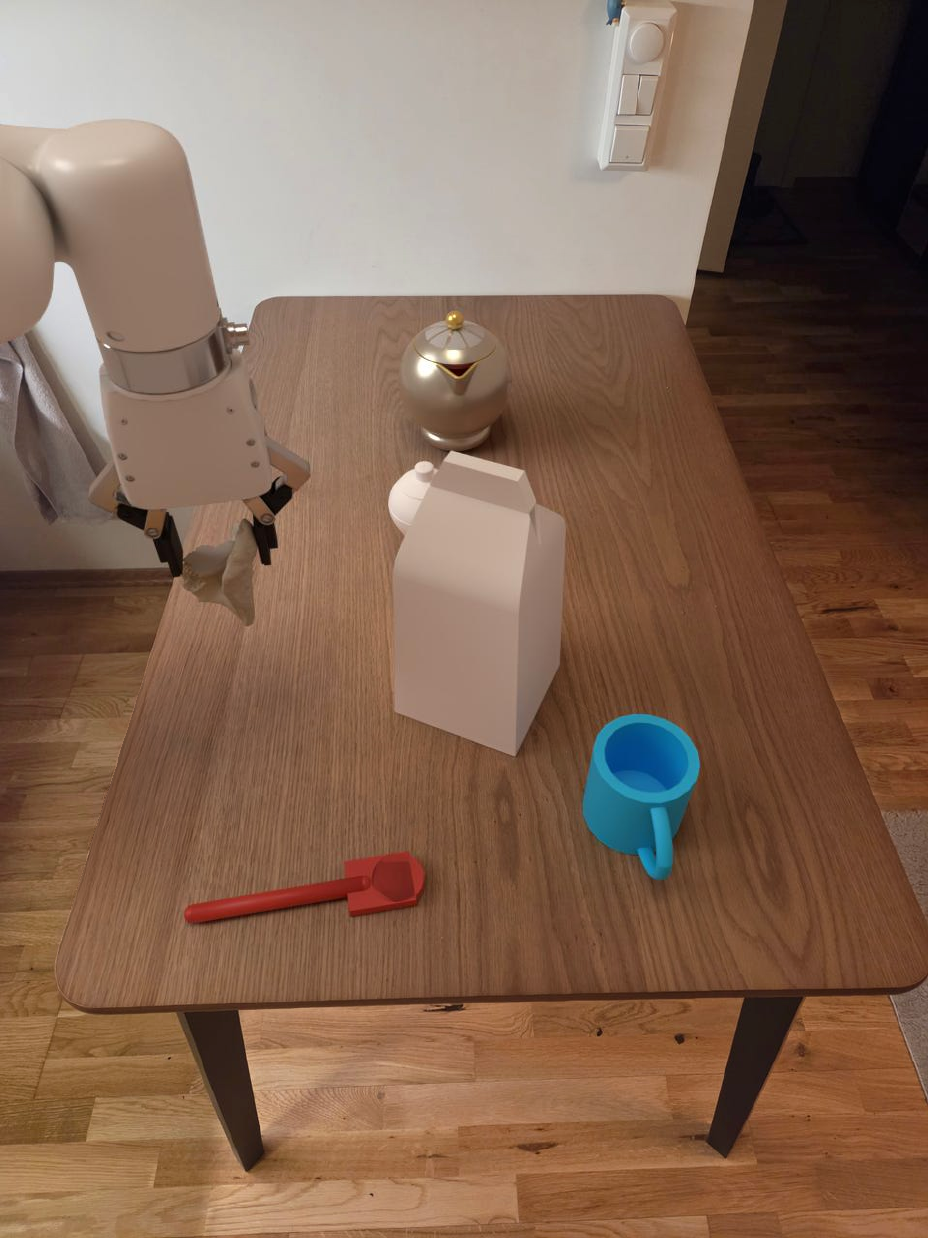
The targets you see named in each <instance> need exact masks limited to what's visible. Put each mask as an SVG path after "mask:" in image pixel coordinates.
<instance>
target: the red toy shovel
mask: <svg viewBox="0 0 928 1238" xmlns="http://www.w3.org/2000/svg"><path fill="white" fill-rule="evenodd" d="M344 873H345V874H344V875H345V878H340V879H333V880H329V881H322V882H316V883H311V884H305V885H298V886H291V887H286V888H285V887H284V888H280V889H274V890H268V891H262V892H261V891H260V892H257V893H250V894H243V895H237V896H232V897H225V898H220V899H214V900H208V901H203V902H197V903H191V904H189V905H187V907H185V909H184V912H183V917H184V918H183V919H184V920H185V921H186V922H187V923H190V924H198V923H202V922H203V923H204V922H208V921H209V922H210V921H215V920H220V919H226V918H231V917H237V916H245V915H251V914H255V913H256V914H257V913H262V912H268V911H275V910H279V909H287V908H291V907H296V906H303V905H309V904H314V903H320V902H321V903H322V902H326V901H332V900H336V899H344V898H347V904H348V913H349V917H351V918H352V917H356V916H362V915H363V916H364V915H368V914H374V913H379V912H386V911H392V910H398V909H404V908H409V907H415V906H418V903H417V902H418V900H419V899H420V897H421V896H422V894H423V892H424V889H425V884H426V880H425V879H426V878H425V870H424V868H423V865H422V864H421V862H420V861H419V860H418V859H417V858H415V857H414V856H412V855H411V853H410V850H405V851H400V852H393V853H388V854H381V855H376V856H370V857H369V856H368V857H364V858H357V859H351V860H346V861H344Z"/></svg>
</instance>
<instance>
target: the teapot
mask: <svg viewBox="0 0 928 1238" xmlns="http://www.w3.org/2000/svg"><path fill="white" fill-rule="evenodd" d="M397 379H398V390H399V395H400V398H401V401H402V403H403V406H404V407H405V409H406V411H407V412H408V414H409V415H410V416H411V418H412V419H413V420H414V421H415V422H416V423H417V424H418V425H419V430H420V433H421V436H422V438H423V439H424V441H425V442H427V443H428V444H429V445H431V446H432V447H433V448H436V449H438V450H442V451H447V452H450V451H454V452H465V451H469V450H473V449H475V448H478V447H479V446H481V445H482V444H483V443H484V442H485V441H487V440H488V438H489V436H490V434H491V429H492V425H493V423H495V422H496V421H497V420H498V418H500V416H501V414H502V413H503V412H504V410H505V408H506V406H507V405H508V402H509V399H510V396H511V393H512V385H513V372H512V366H511V361H510V358H509V356H508V353H507V352H506V349H505V348H504V346H503V344H502V343H501V342H500V341H499V339H498V338H497V337H496V336H495V335H494V334H493V333H492V332H490V330H488V329H487V328H485V327H484V326H482V325H480V324H478V323H475V322H472V321H470V320H465V319H464V316H463V314H462V313H461V312H460V311H458V310H452V311H450V312H449V313H447V315H446V316H445V320H441V321H438V322H435V323H433V324H430V325H429V326H427V327H424V329H422V330H421V331H419V333H417V334H415V336H414V337H413V338H412V339H411V341H410V342H409V343H408V345H407V347H406V348H405V350H404V352H403V354H402V357H401V359H400V362H399V367H398V375H397Z"/></svg>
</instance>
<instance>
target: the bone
mask: <svg viewBox="0 0 928 1238" xmlns="http://www.w3.org/2000/svg"><path fill="white" fill-rule="evenodd" d="M231 529H232V530H231V533H230V540H227V541H224V542H223V543H220V544H218V545H216V546H211V545H208V544H201V545H199V546H196V548H195V550H192V551H190V552H188V553H187V554H186V556H185V557H183V574H182V575H180V577H181V578H182V582H181V587H182V588H183V589H184V590H185V591H187V592H190V593H191V594H192V595H193V596H195V597H197V603H211V604H217V605H221V606H223V607H225V608H226V609H228V610H229V611H230V612H231V613H232V614H233V615H234V616H236V617H237V619H239V620H240V621H241V622H242V624H243V625H244V626H245V627H250V626H252V625H253V624H254V622H255V618H256V607H255V599H254V586H253V575H254V573H255V571H254V570H253V565H254V562H255V558H256V557H257V553H258V547H257V542H256V538H255V533H254V528H253V522H252V523H251V521H250V520H249V519H247V518H246V517H245V518H241V520H238V521H236V522H235V523H234V524H233V525H232V527H231Z"/></svg>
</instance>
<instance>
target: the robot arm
mask: <svg viewBox="0 0 928 1238" xmlns="http://www.w3.org/2000/svg"><path fill="white" fill-rule="evenodd" d="M192 177H193V176H192V172H191V169H190V165H189V161H188V157H187V155H186V152H185V149H184V148H183V146H182V144H181V143H180V141H179V140H178V139H177V138H176V136H175V135H174V134H173V133H172V132H171V131H169V130H167V129H165V128H164V127H162V126H161V125H158V124H156V123H152V122H149V121H144V120H137V119H129V118H128V119H126V118H111V119H110V118H109V119H100V120H94V121H93V120H92V121H88V122H84V123H81V124H75V125H74V126H71V127H68V128H55V127H54V128H53V127H52V128H51V127H39V126H38V127H36V126H24V125H23V126H21V125H13V124H12V125H10V124H2V123H1V124H0V344H4V343H8V342H11V341H14V340H16V339H19V338H20V337H21V336H23V335H25V334H27V333H28V332H30V331H31V330H32V329H33V328H34V327H35V326H36V325H37V324H38V323H39V322H40V321H41V320H42V318H43V316H44V314H45V313H46V311H47V310H48V308H49V305H50V302H51V299H52V297H53V291H54V281H55V266H56V265H55V264H56V263H64V264H66V265H68V266H69V267H70V269H72V271H73V274H74V276H75V277H74V278H75V280H76V282H77V286H78V288H79V292H80V294H81V297H82V300H83V304H84V306H85V310H86V313H87V316H88V319H89V321H90V322H89V323H90V324H91V328H92V331H93V333H94V337H95V340H96V343H97V347H98V349H99V352H100V355H101V358H102V361H103V362H102V364H101V365H100V366H99V370H98V375H99V391H100V400H101V406H102V414H103V418H104V423H105V428H106V433H107V437H108V441H109V445H110V449H111V454H112V457H111V459H110V460H109V461H108V462H107V464H106V465H105V466H104V467H103V469H102V470H101V471H100V472H99V474H98V475H97V476H96V478H95V479H94V480H93V482H91V484H90V485H89V487H88V488H89V489H88V495H87V500H88V502H89V503H90V504H92V505H94V506H95V507H98V508H100V509H102V510H104V511H106V512H108V513H110V514H115V515H116V516H117V518H118V519H119V520H120V521H123V522H124V523H127V524H129V525H131V526H133V527H135V528H137V529H140V530H141V531H143V535H144V537H146V539H147V538H148V539H150V540H152V542H153V546H154V548H155V552H156V553H157V556H158V560H159V562H160V564H164V563H167V565H168V568H169V572H170V574H171V577H172V578H173V579H174V578H180V577H181V575H182V574H183V563H184V561H183V559H184V549H183V545H182V541H181V539H180V538H181V537H180V535H179V532H178V529H177V526H176V523H175V520H174V516H173V515H172V514H170V512H169V511H167V509H178V508H187V507H193V506H194V507H195V506H204V505H211V504H220V503H228V502H234V501H241V502H243V504H244V505H245V506H246V507H247V508H248V510H249V511H250V512H251V513H252V525H253V528H254V533H255V538H256V542H257V552H258V554H259V560H260V564H261V565H264V567H265V566H267V567H268V566H272V556H271V555H272V554H271V550H274V549H275V550H276V549H279V542H278V535H277V530H276V525H275V521H276V516H277V515H278V514H279V512H280V511H282V510H283V508H284V507H285V506H286V505H287V504H289V503H290V502H291V500H292V499H293V495H294V494H295V493H296V492H298V491H299V490H300V489H301V488H302V487H303V486H304V485H305V484H306V483H307V482H308V481H309V479H311V476H312V471H311V464H310V462H309V461H308V460H306V459H305V458H304V457H302V456H300V455H299V454H297V453H295V452H294V451H292V450H291V449H289V448H288V447H286V446H285V445H283V444H281V443H279V442H277V441H276V440H275V439H273V438H271V437H270V436H268V432H267V427H266V423H265V419H264V416H263V411H262V408H261V403H260V400H259V397H258V394H257V391H256V387H255V384H254V381H253V379H252V376H251V373H250V370H249V368H248V365H247V363H246V360H245V358H244V357H243V355H242V352H241V351H240V350H239V347H241V346H242V347H243V346H250V345H251V341H250V334H249V328H248V324H247V323H246V322H245V323H235V322H234V321H232V322H231V321H230V322H229V320H228V317H224V316H223V312H222V308H221V307H220V303H219V300H218V295H217V294H218V293H217V291H216V285H215V281H214V276H213V272H212V267H211V261H210V257H209V253H208V248H207V243H206V238H205V235H204V229H203V225H202V219H201V215H200V211H199V205H198V201H197V197H196V192H195V187H194V182H193V178H192ZM272 467H273V468H275V470H278V471H280V472H281V473H282V475H279V476H277V477H276V478H274V480H273V479H272V474H273V473H272ZM120 487H121V489H122V491H121V490H119V488H120ZM122 492H123V493H122Z"/></svg>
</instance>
